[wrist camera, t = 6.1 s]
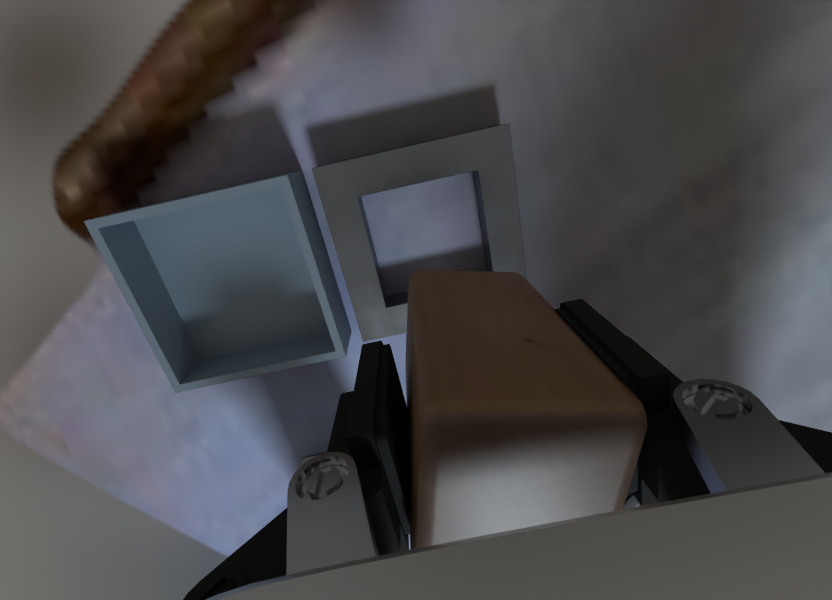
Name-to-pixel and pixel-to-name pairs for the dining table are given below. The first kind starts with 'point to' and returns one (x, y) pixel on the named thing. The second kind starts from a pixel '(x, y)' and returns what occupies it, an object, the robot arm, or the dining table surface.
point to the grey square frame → (410, 166)
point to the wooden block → (508, 411)
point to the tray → (228, 281)
